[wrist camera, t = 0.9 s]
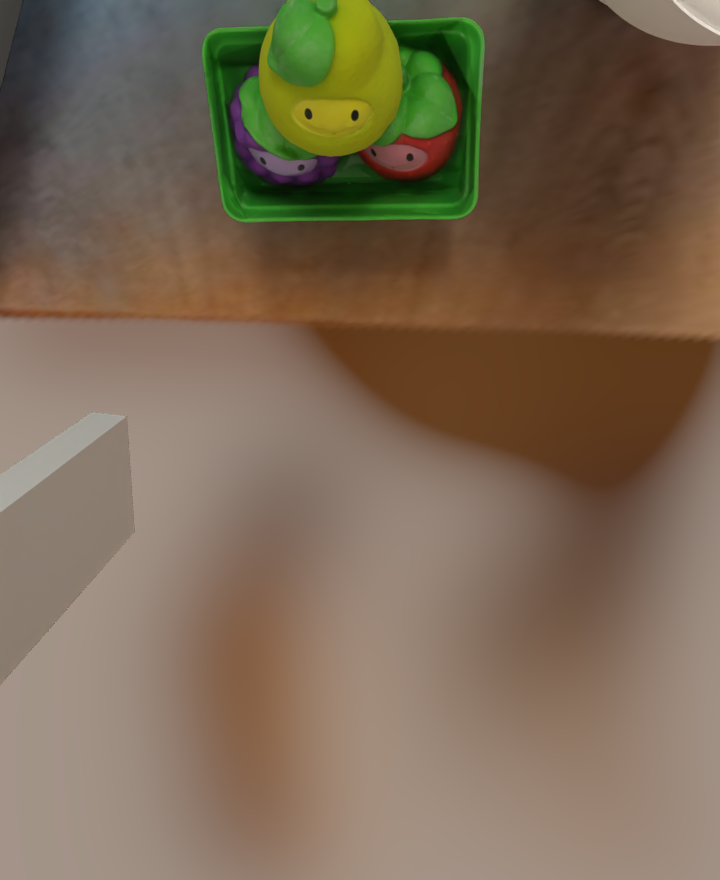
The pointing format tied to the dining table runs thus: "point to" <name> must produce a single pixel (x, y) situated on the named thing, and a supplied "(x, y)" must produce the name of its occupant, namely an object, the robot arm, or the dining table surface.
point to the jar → (673, 19)
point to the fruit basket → (346, 115)
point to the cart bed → (7, 30)
